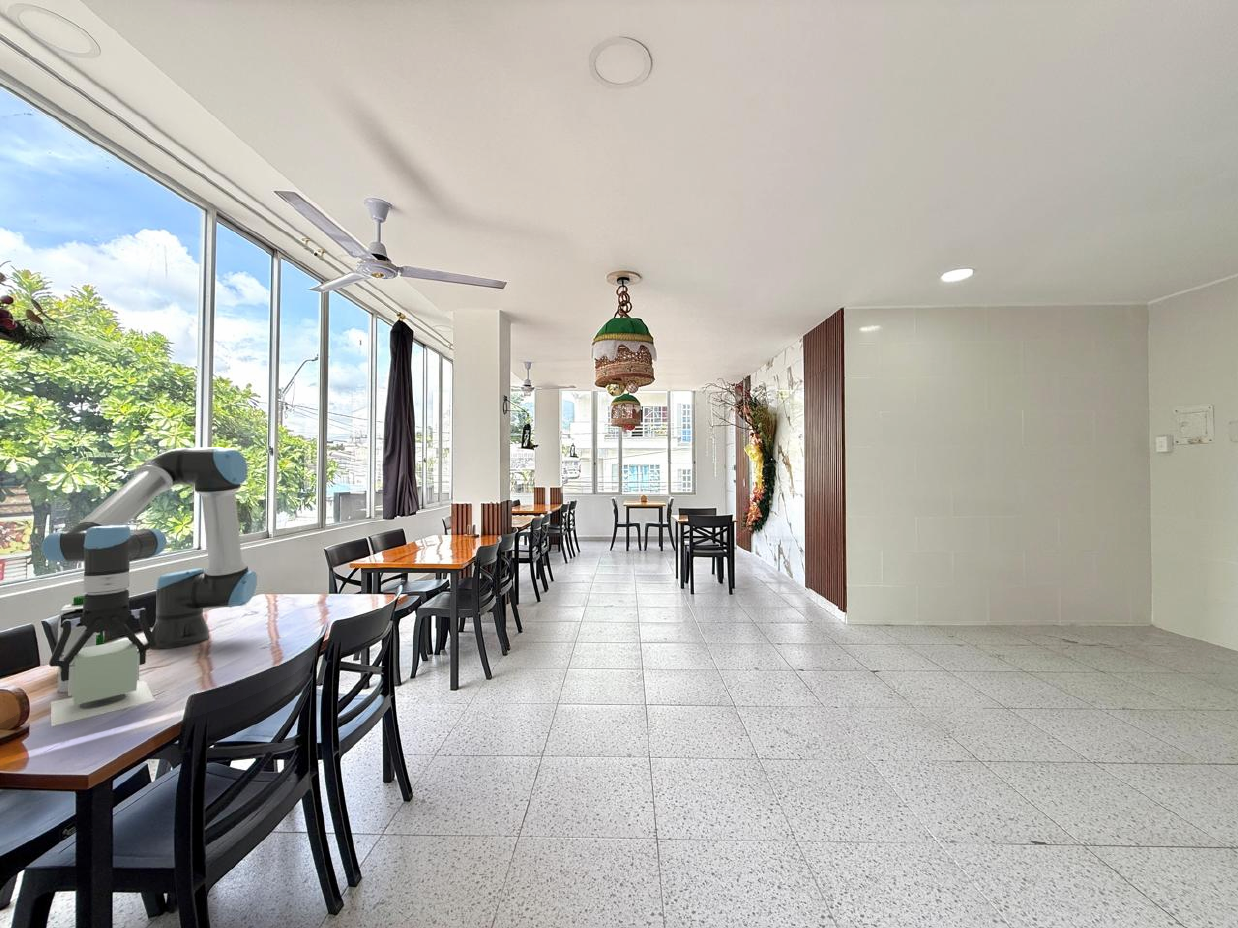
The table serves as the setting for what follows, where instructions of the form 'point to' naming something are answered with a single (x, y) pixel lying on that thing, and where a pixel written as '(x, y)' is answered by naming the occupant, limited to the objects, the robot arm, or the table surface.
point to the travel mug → (72, 642)
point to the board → (98, 705)
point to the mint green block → (104, 671)
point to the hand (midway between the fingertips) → (104, 686)
